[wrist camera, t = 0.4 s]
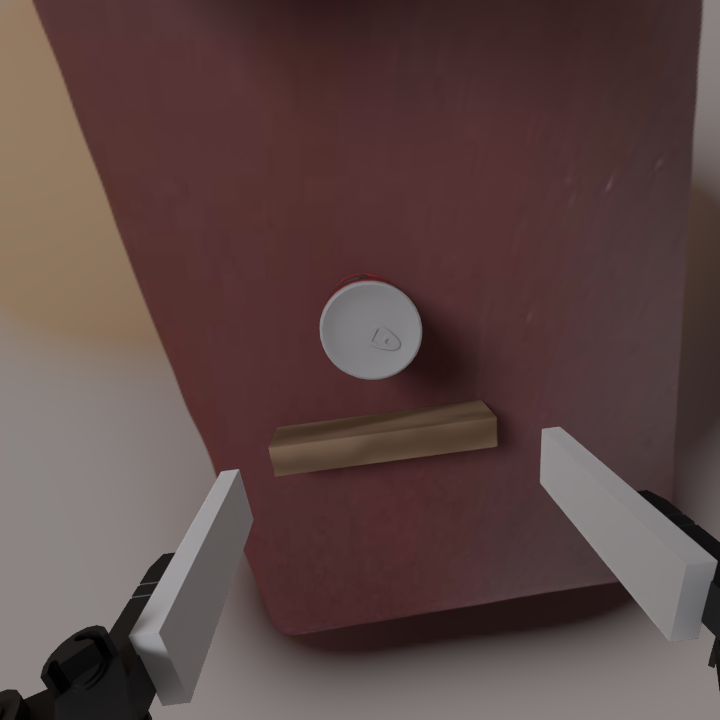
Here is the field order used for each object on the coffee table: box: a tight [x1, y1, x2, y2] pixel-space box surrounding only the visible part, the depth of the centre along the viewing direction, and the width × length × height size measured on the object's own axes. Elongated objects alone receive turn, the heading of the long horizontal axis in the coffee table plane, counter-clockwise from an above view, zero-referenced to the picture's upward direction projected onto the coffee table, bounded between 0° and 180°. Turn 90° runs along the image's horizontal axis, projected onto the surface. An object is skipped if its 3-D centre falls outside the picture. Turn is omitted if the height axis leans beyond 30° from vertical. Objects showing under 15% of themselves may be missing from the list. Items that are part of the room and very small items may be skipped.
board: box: [268, 400, 497, 476], centre depth 39 cm, size 4×24×4 cm, turn 98°
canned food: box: [320, 273, 422, 379], centre depth 31 cm, size 8×8×11 cm
